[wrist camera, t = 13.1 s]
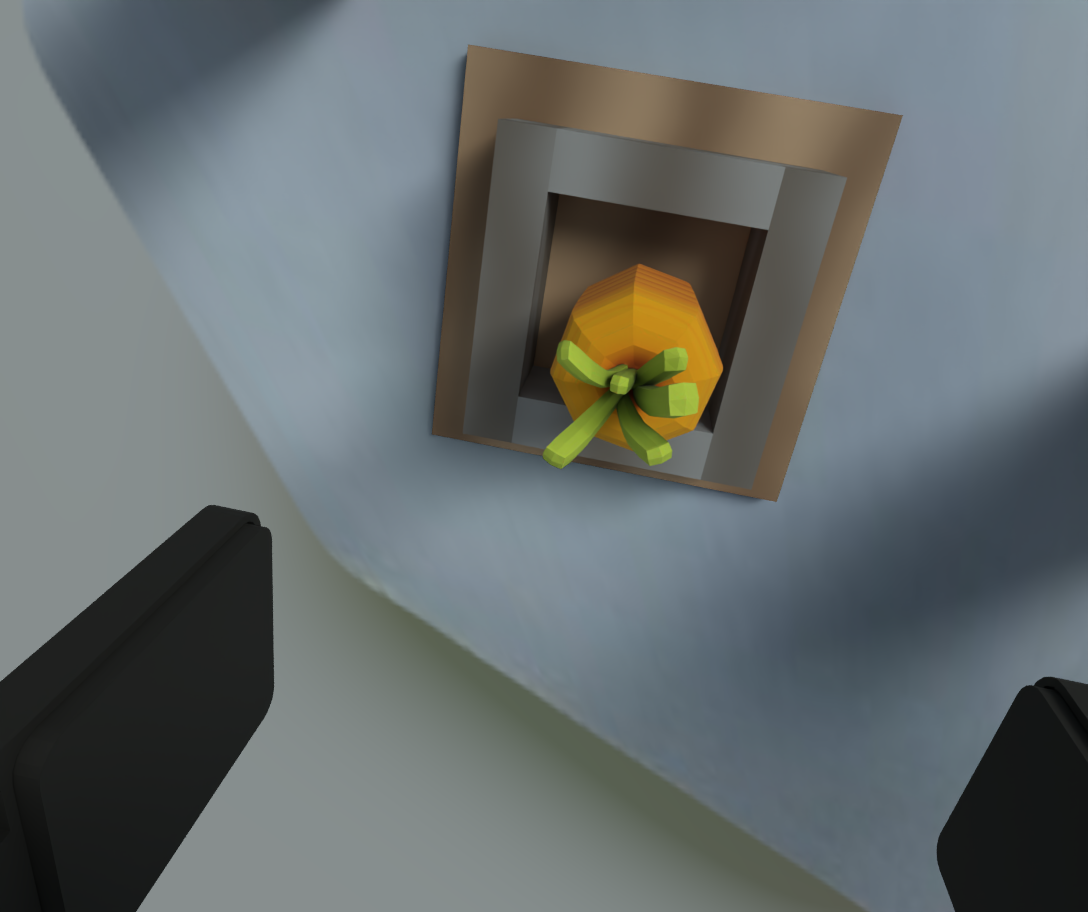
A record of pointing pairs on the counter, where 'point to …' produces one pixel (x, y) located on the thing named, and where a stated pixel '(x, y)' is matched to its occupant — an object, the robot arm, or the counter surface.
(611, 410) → the carrot
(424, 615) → the counter surface
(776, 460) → the docking stand
